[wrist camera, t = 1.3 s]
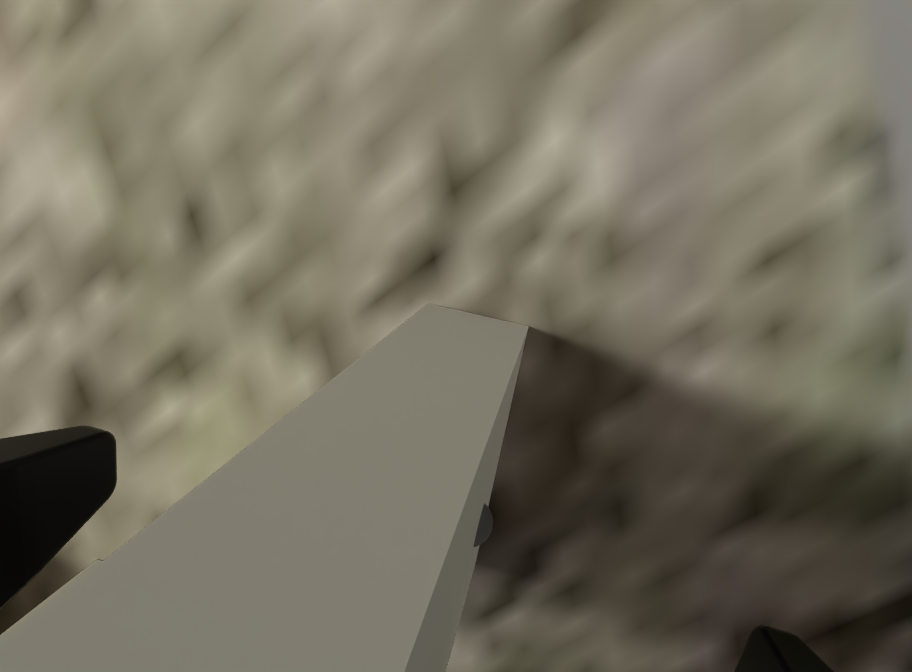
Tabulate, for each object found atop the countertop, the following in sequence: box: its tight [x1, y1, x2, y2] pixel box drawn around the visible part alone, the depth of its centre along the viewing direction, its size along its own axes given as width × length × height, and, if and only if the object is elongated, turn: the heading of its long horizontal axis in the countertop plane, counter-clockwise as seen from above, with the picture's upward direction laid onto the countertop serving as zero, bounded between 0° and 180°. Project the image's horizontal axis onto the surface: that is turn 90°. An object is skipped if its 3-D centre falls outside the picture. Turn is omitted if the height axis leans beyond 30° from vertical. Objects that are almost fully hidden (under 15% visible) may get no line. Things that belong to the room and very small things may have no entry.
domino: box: [0, 304, 529, 672], centre depth 6 cm, size 5×2×8 cm, turn 170°
